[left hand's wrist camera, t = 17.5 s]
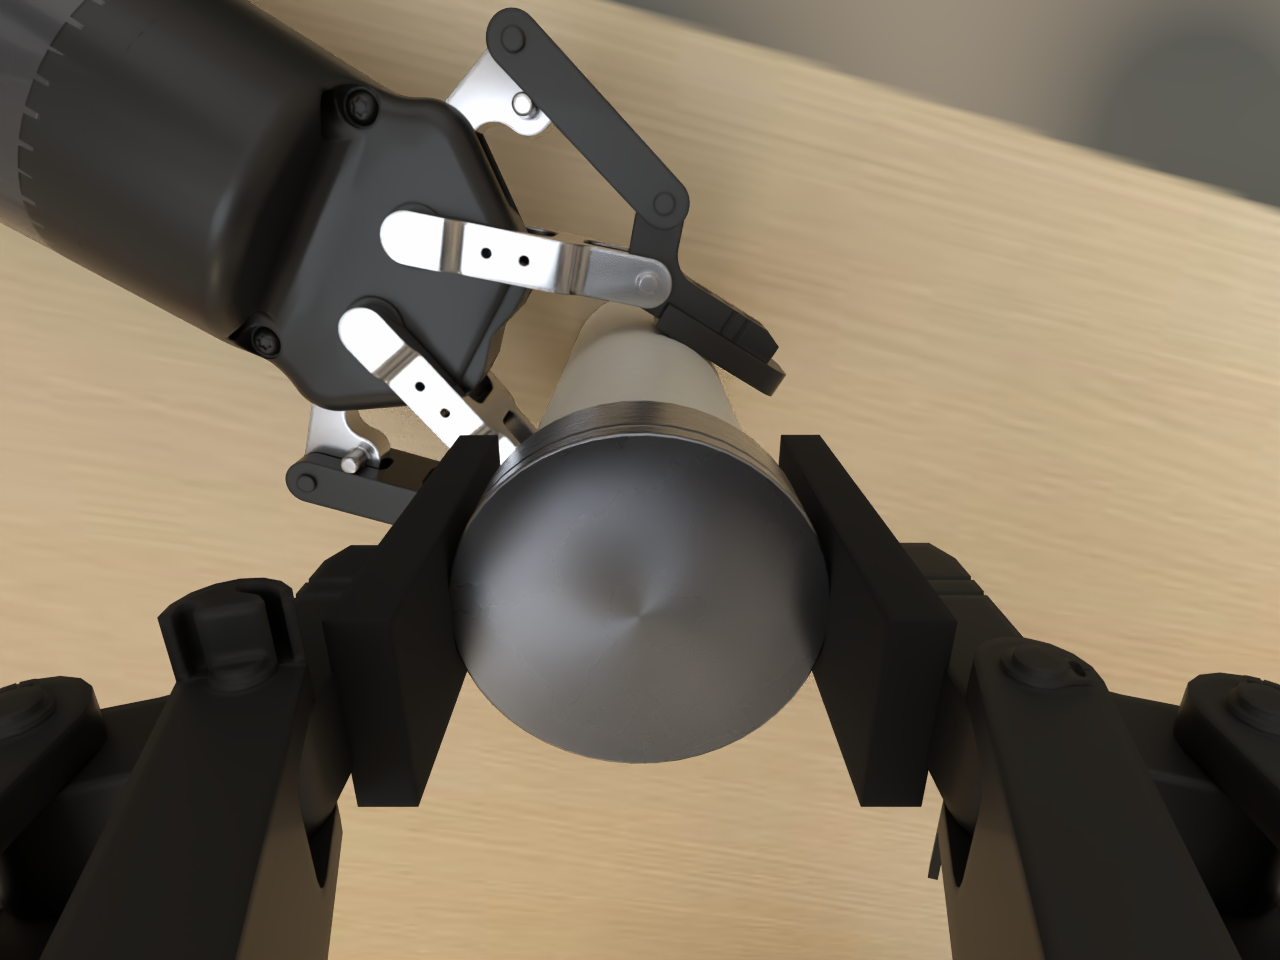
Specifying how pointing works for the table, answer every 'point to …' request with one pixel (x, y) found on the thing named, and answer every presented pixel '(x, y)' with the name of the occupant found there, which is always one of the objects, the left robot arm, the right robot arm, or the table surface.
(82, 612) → the table surface
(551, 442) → the lid
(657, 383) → the jar
